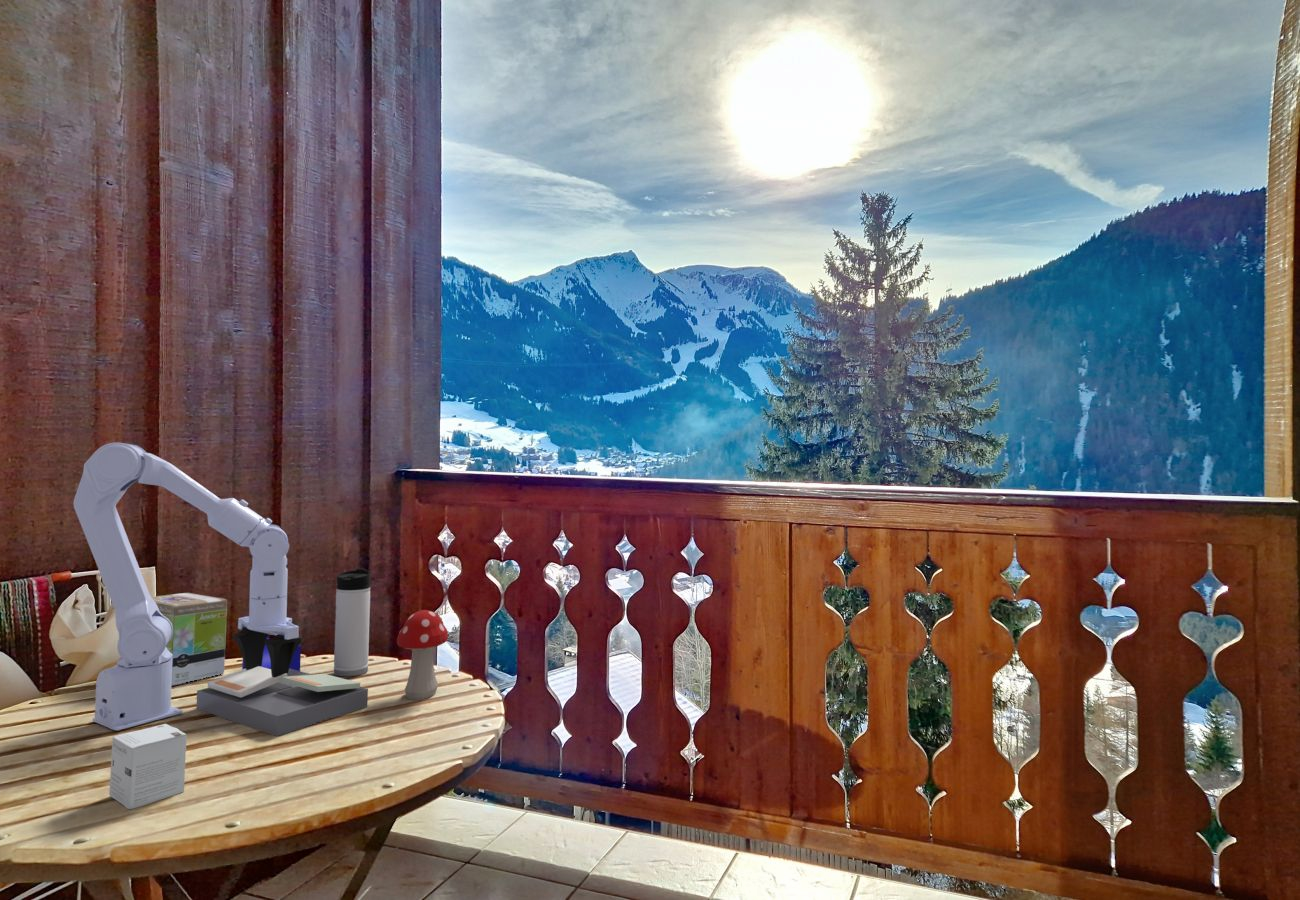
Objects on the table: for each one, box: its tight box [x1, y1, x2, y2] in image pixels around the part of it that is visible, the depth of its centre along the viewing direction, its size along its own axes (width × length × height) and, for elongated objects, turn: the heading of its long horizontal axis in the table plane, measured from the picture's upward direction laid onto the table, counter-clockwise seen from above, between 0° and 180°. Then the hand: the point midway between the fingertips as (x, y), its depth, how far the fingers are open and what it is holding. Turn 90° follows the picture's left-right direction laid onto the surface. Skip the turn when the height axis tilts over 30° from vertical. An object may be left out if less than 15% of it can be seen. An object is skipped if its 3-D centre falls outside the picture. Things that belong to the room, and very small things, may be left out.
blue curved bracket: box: [241, 637, 302, 671], centre depth 138 cm, size 12×4×6 cm, turn 59°
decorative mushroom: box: [396, 609, 449, 701], centre depth 127 cm, size 10×9×15 cm
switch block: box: [195, 669, 369, 737], centre depth 121 cm, size 22×22×3 cm
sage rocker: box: [281, 673, 361, 692], centre depth 118 cm, size 8×10×1 cm
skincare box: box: [109, 723, 188, 810], centre depth 87 cm, size 6×6×7 cm
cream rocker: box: [206, 666, 288, 698], centre depth 119 cm, size 8×10×1 cm
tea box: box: [151, 592, 228, 687], centre depth 136 cm, size 15×10×15 cm
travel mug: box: [333, 568, 371, 678], centre depth 140 cm, size 6×7×20 cm
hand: (266, 675), depth 121 cm, fingers open, 7 cm apart
